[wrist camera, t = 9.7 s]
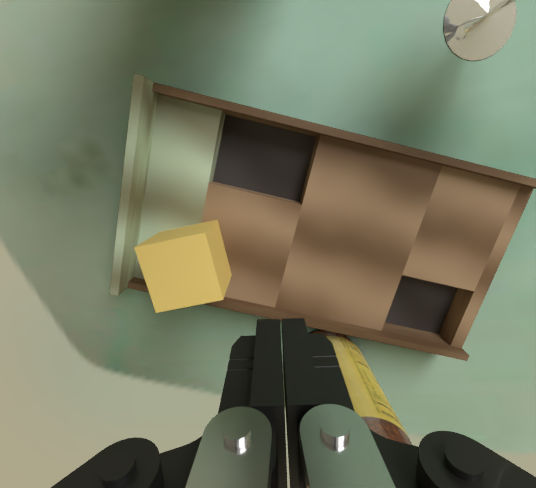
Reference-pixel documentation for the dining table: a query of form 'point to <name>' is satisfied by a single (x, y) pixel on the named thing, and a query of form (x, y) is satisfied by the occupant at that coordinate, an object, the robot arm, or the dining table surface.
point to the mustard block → (185, 266)
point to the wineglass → (478, 26)
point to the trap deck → (318, 218)
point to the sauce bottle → (365, 389)
